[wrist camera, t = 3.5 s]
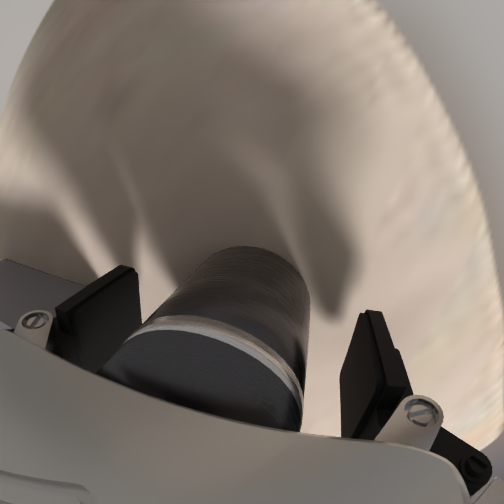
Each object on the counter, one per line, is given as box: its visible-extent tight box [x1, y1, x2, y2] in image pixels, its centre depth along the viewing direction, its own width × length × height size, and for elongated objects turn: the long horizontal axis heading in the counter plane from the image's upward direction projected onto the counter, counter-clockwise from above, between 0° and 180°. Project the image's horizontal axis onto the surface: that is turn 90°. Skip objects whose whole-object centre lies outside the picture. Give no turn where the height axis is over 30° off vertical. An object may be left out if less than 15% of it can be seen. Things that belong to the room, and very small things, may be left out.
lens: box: [96, 246, 310, 432], centre depth 9 cm, size 5×5×7 cm
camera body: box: [0, 259, 86, 329], centre depth 14 cm, size 16×10×6 cm, turn 175°
